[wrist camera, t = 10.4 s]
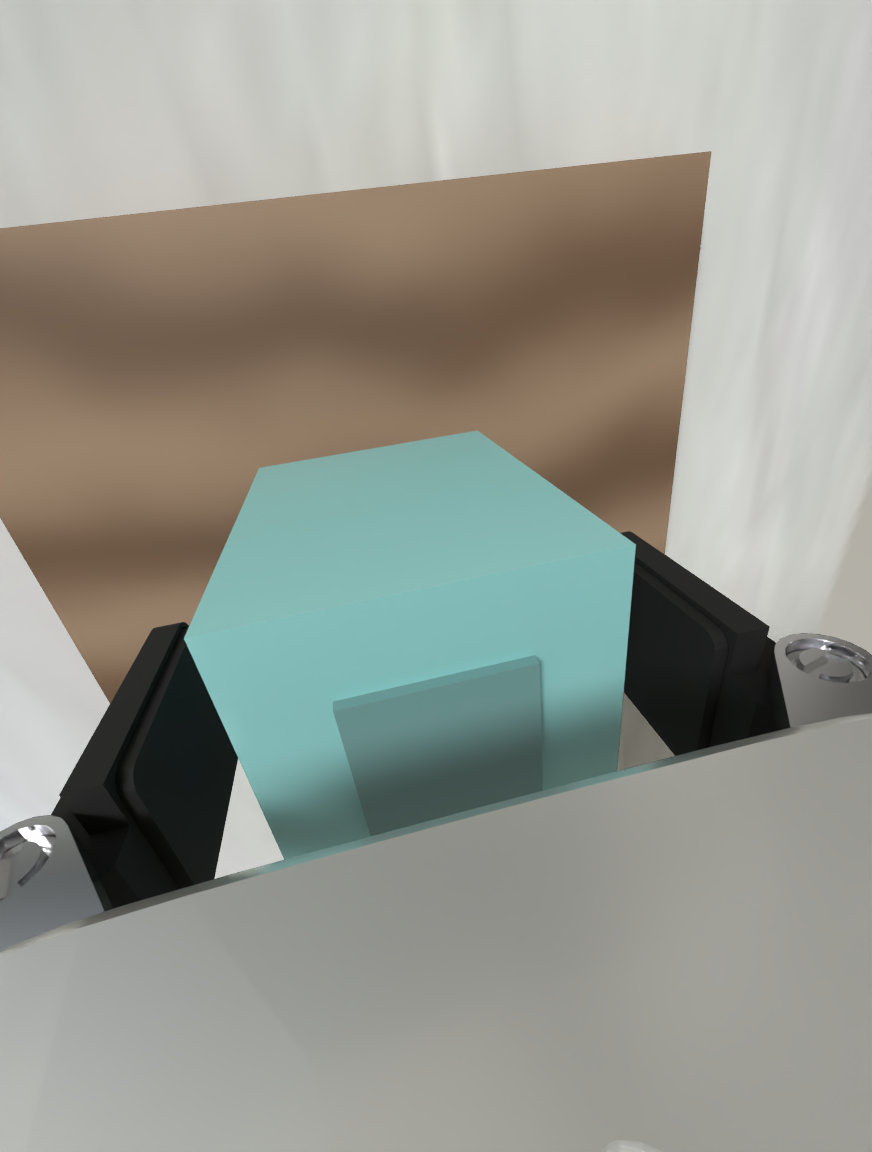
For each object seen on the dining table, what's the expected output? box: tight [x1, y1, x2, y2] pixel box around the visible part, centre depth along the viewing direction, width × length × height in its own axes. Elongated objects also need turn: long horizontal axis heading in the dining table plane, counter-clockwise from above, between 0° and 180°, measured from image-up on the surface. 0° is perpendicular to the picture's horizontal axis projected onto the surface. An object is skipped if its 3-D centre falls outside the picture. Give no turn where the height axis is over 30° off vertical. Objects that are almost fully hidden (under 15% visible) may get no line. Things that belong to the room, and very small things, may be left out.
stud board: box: [0, 151, 711, 704], centre depth 14 cm, size 18×22×11 cm
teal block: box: [184, 430, 636, 860], centre depth 11 cm, size 6×6×8 cm
